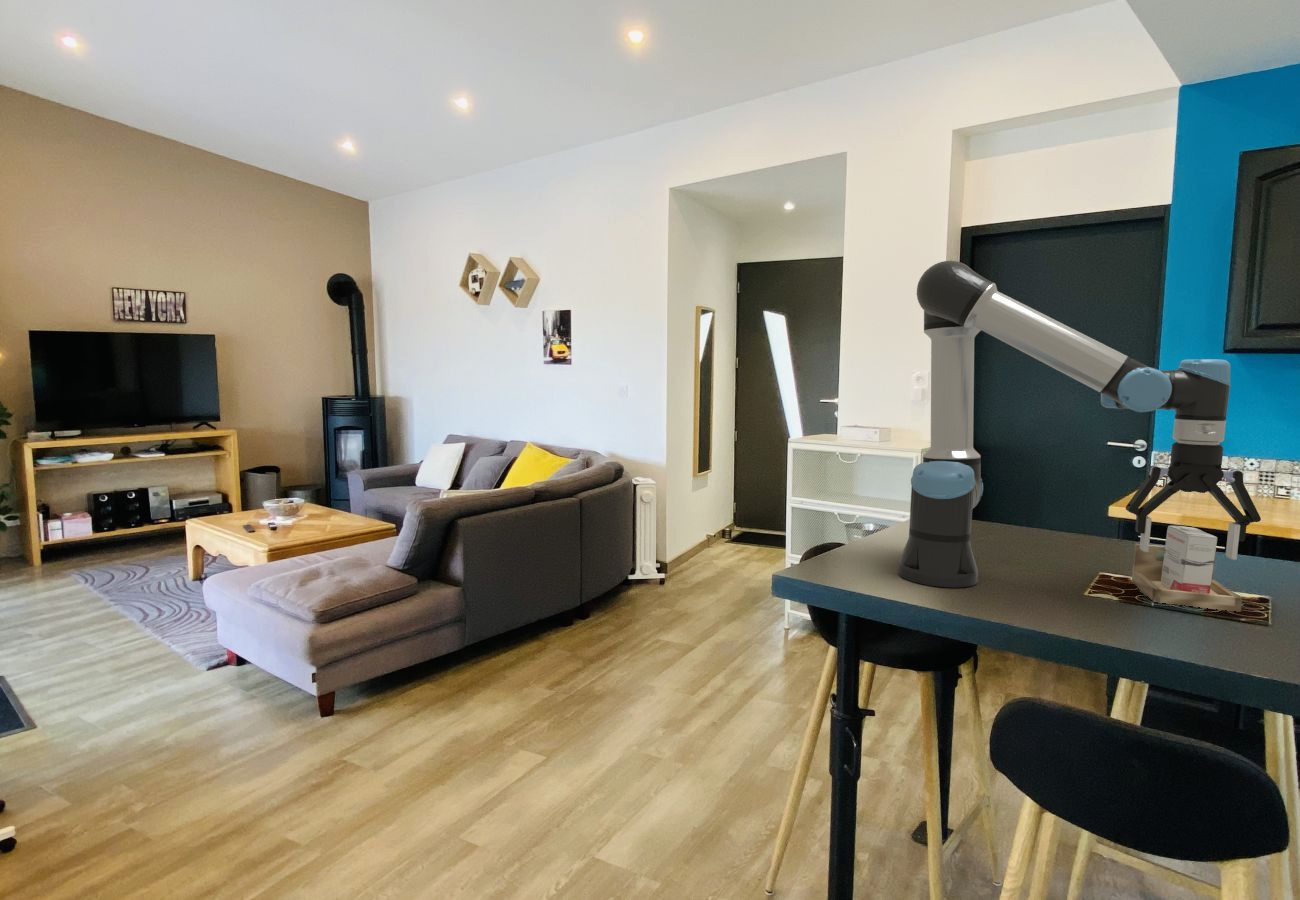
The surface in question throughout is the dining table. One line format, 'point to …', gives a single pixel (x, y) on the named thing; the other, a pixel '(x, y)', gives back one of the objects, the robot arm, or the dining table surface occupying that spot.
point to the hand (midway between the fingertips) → (1186, 554)
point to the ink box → (1188, 559)
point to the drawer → (1149, 583)
